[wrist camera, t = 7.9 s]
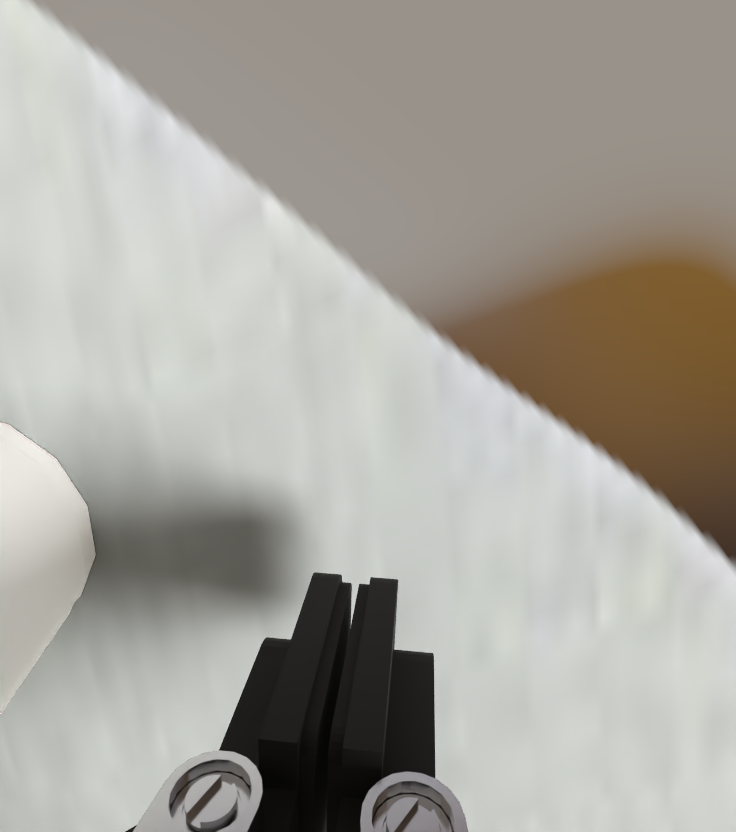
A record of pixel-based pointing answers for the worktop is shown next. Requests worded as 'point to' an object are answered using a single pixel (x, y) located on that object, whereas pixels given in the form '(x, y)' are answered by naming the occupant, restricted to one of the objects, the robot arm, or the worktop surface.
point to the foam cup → (36, 554)
